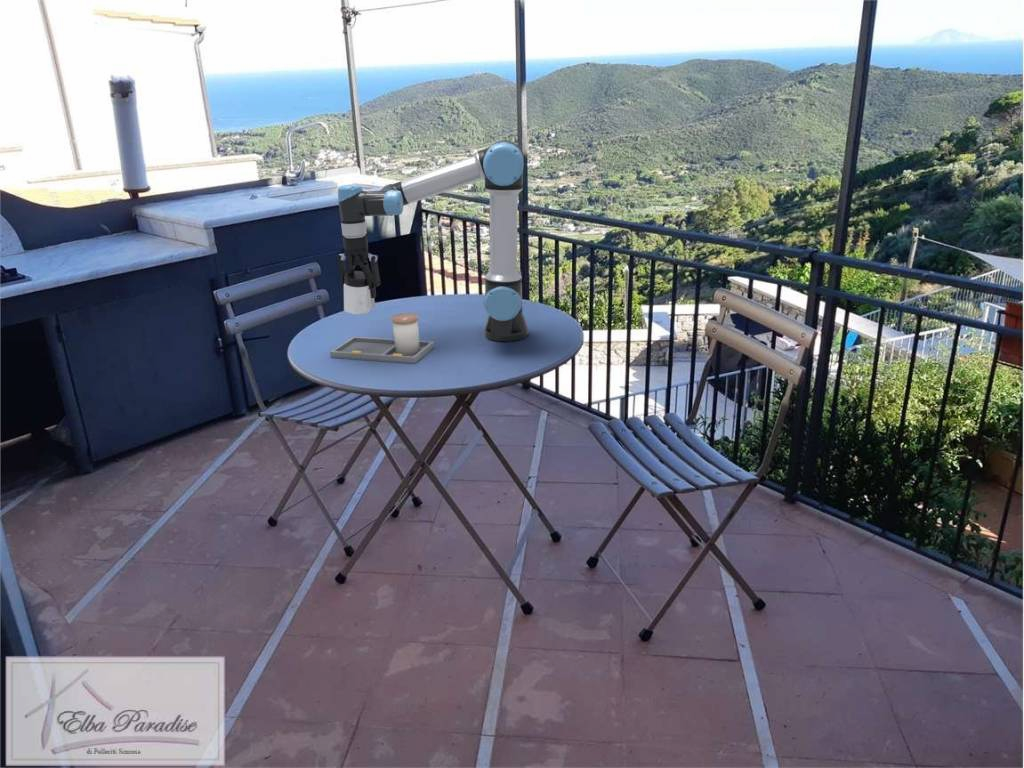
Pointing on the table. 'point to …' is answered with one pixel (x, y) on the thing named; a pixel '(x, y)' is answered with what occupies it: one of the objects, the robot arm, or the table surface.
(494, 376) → the table surface
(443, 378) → the table surface
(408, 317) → the white jar with lid
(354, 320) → the table surface
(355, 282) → the jar
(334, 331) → the table surface
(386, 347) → the divided grey tray
